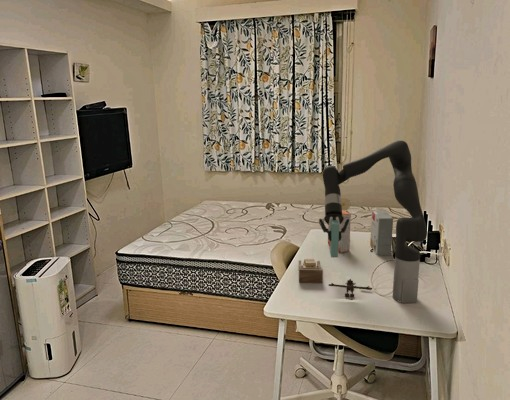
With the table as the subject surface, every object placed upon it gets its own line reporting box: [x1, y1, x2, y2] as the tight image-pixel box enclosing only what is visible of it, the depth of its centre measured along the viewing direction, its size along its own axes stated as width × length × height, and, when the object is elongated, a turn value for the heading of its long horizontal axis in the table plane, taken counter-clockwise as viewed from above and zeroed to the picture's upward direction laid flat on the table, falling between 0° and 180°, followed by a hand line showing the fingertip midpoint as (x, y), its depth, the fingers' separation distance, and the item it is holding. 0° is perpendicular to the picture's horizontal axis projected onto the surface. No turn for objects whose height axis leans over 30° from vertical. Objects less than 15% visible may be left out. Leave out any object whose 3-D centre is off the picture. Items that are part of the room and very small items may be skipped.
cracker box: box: [327, 210, 352, 253], centre depth 228 cm, size 14×6×21 cm, turn 17°
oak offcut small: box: [303, 258, 317, 267], centre depth 198 cm, size 5×4×2 cm
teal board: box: [329, 220, 339, 258], centre depth 186 cm, size 6×3×15 cm, turn 174°
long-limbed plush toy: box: [328, 278, 373, 301], centre depth 177 cm, size 18×4×14 cm
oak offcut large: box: [302, 261, 317, 269], centre depth 198 cm, size 7×6×2 cm
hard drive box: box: [369, 209, 394, 256], centre depth 224 cm, size 16×8×20 cm, turn 178°
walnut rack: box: [298, 259, 324, 284], centre depth 193 cm, size 20×10×7 cm, turn 175°
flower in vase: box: [341, 196, 352, 213], centre depth 241 cm, size 13×11×25 cm
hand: (334, 240), depth 184 cm, fingers closed on teal board, 3 cm apart
